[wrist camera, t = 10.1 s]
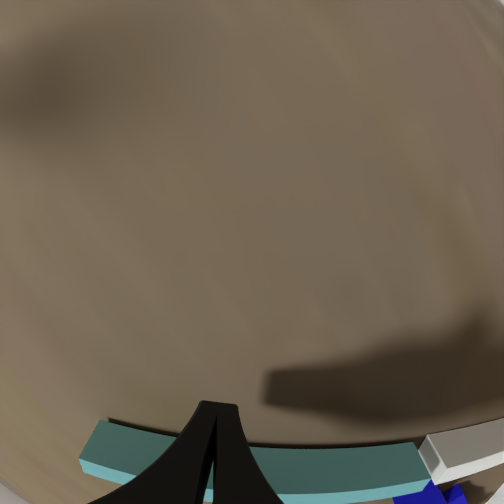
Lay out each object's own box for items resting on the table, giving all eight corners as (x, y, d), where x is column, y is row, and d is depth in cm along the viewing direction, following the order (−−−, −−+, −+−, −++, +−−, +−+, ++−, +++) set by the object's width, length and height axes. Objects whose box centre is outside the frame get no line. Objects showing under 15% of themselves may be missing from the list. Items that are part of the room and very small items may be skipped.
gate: (103, 434, 14) (83, 472, 11) (99, 419, 14) (78, 458, 11) (405, 455, 14) (421, 491, 11) (413, 441, 14) (431, 477, 11)
